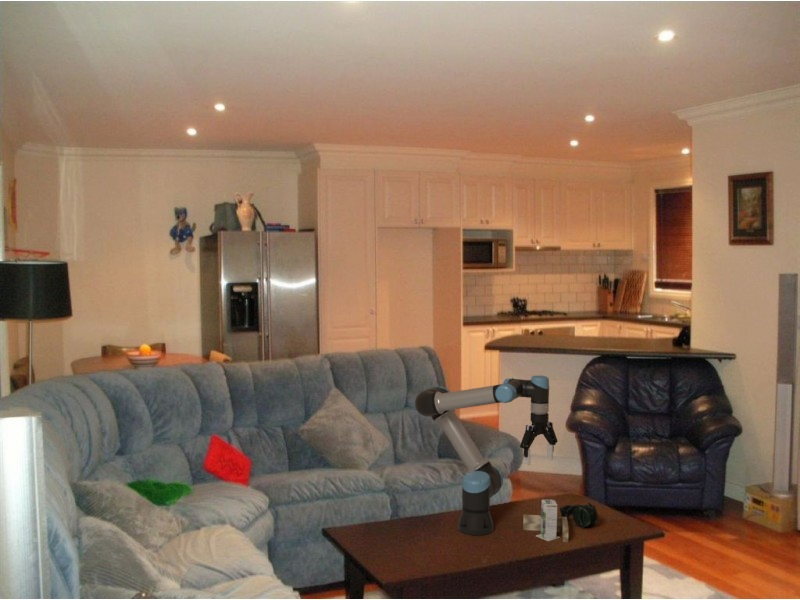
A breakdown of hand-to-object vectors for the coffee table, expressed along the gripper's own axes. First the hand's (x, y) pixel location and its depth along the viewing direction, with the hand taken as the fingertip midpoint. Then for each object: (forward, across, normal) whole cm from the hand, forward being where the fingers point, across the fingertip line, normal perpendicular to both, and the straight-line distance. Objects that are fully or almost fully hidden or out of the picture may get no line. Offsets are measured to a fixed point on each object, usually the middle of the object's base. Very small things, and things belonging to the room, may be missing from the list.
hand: (538, 461), depth 317 cm
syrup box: (+29, -3, -10) cm, 30 cm away
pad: (+29, -4, -10) cm, 30 cm away
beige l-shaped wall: (+29, -3, -7) cm, 30 cm away
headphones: (+29, +21, -5) cm, 36 cm away
